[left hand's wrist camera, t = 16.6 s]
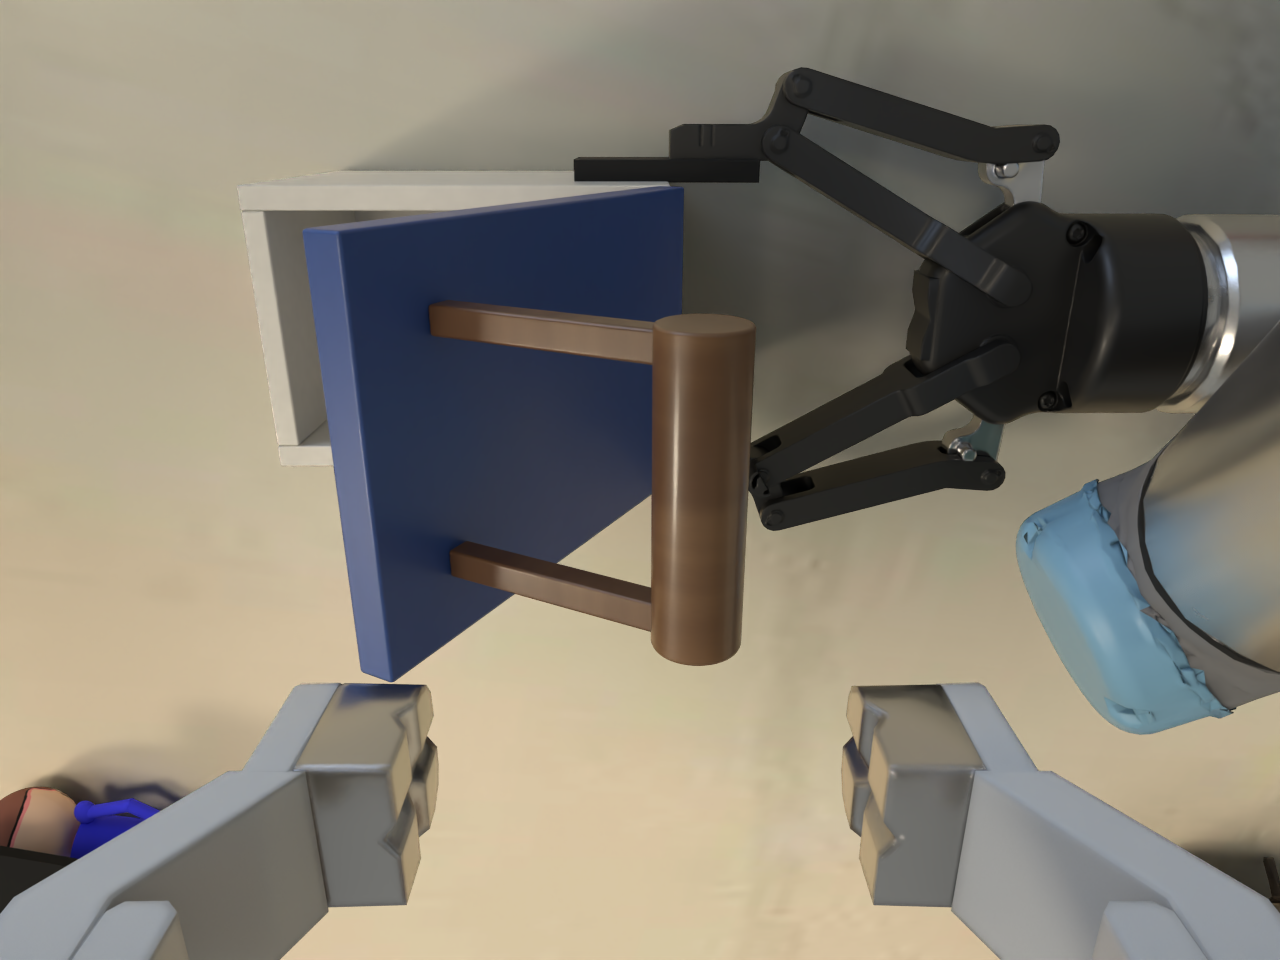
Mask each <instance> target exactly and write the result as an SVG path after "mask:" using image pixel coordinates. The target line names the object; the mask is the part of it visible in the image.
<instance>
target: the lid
mask: <svg viewBox="0 0 1280 960" xmlns="http://www.w3.org/2000/svg"><path fill="white" fill-rule="evenodd" d="M683 216H684V188H683V187H671V186H655V187H647V188H638V189H630V190H621V191H613V192H605V193H596V194H588V195H579V196H571V197H563V198H554V199H546V200H537V201H529V202H521V203H512V204H504V205H495V206H487V207H479V208H470V209H462V210H453V211H445V212H437V213H428V214H420V215H411V216H403V217H395V218H386V219H378V220H369V221H361V222H353V223H344V224H336V225H327V226H319V227H311V228H306V229H304V230H303V232H302V234H303V242H304V249H305V257H306V264H307V271H308V279H309V286H310V294H311V301H312V309H313V316H314V324H315V331H316V339H317V346H318V353H319V361H320V368H321V376H322V383H323V391H324V398H325V406H326V413H327V421H328V428H329V436H330V443H331V450H332V458H333V465H334V473H335V480H336V488H337V495H338V503H339V510H340V518H341V525H342V532H343V540H344V547H345V555H346V562H347V570H348V577H349V585H350V592H351V600H352V607H353V615H354V622H355V629H356V637H357V644H358V652H359V659H360V667H361V671H362V672H363V673H366V674H369V675H372V676H375V677H377V678H380V679H383V680H386V681H388V682H394V681H396V680H397V679H399V678H400V677H401V676H403V675H404V674H405V673H407V672H408V671H410V670H411V669H412V668H414V667H415V666H416V665H418V664H419V663H421V662H422V661H423V660H425V659H426V658H427V657H429V656H430V655H432V654H433V653H434V652H436V651H437V650H438V649H440V648H441V647H443V646H444V645H445V644H447V643H448V642H449V641H451V640H452V639H454V638H455V637H456V636H458V635H459V634H460V633H462V632H463V631H465V630H466V629H467V628H469V627H470V626H471V625H473V624H474V623H476V622H477V621H478V620H480V619H481V618H482V617H484V616H485V615H486V614H488V613H489V612H491V611H492V610H493V609H495V608H496V607H497V606H499V605H500V604H502V603H503V602H504V601H506V600H507V599H508V598H510V597H511V596H513V595H514V594H518V595H521V596H525V597H528V598H532V599H536V600H539V601H543V602H546V603H550V604H553V605H557V606H561V607H564V608H568V609H571V610H575V611H578V612H582V613H586V614H589V615H593V616H596V617H600V618H604V619H607V620H611V621H614V622H618V623H621V624H625V625H629V626H632V627H636V628H639V629H643V630H646V631H650V632H651V642H652V645H653V647H654V649H655V650H656V651H657V652H658V653H659V654H660V655H661V656H663V657H664V658H666V659H668V660H670V661H673V662H676V663H680V664H684V665H692V666H705V665H712V664H717V663H720V662H723V661H725V660H728V659H729V658H731V657H732V656H734V655H735V654H736V653H737V651H738V649H739V648H740V645H741V632H742V611H743V590H744V569H745V548H746V528H747V507H748V486H749V465H750V444H751V423H752V402H753V382H754V361H755V340H756V327H755V324H754V323H753V322H752V321H749V320H747V319H744V318H741V317H736V316H730V315H722V314H682V274H683ZM651 494H652V536H651V588H650V587H646V586H642V585H638V584H635V583H631V582H627V581H623V580H619V579H615V578H611V577H607V576H603V575H599V574H595V573H591V572H588V571H584V570H580V569H576V568H572V567H568V566H564V565H560V564H557V563H558V562H559V561H561V560H562V559H563V558H565V557H566V556H568V555H569V554H570V553H572V552H573V551H574V550H576V549H577V548H579V547H580V546H581V545H583V544H584V543H585V542H587V541H588V540H590V539H591V538H592V537H594V536H595V535H596V534H598V533H599V532H601V531H602V530H603V529H605V528H606V527H607V526H609V525H610V524H612V523H613V522H614V521H616V520H617V519H618V518H620V517H621V516H623V515H624V514H625V513H627V512H628V511H629V510H631V509H632V508H634V507H635V506H636V505H638V504H639V503H640V502H642V501H643V500H645V499H646V498H647V497H649V496H650V495H651Z"/></svg>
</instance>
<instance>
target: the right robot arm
mask: <svg viewBox="0 0 1280 960" xmlns="http://www.w3.org/2000/svg"><path fill="white" fill-rule="evenodd" d="M807 114H811V115H814V116H817V117H821V118H824V119H827V120H830V121H833V122H836V123H840V124H843V125H846V126H849V127H852V128H855V129H859V130H862V131H865V132H868V133H871V134H874V135H878V136H881V137H884V138H887V139H890V140H893V141H897V142H900V143H903V144H906V145H909V146H912V147H915V148H919V149H922V150H925V151H928V152H931V153H934V154H938V155H941V156H944V157H947V158H951V159H955V160H961V161H969V162H978V174H979V177H980V179H981V180H982V181H983V182H985V183H986V184H990V185H995V186H997V187H999V188H1000V189H1001V190H1002V192H1003V194H1004V198H1005V203H1003V204H1001V205H999V206H998V207H996V208H995V209H994V210H992V211H991V212H989V213H988V214H986V215H985V216H983V217H982V218H980V219H979V220H977V221H976V222H974V223H973V224H971V225H970V226H969V227H967V228H966V229H964V230H963V231H961V232H960V233H957V232H956V231H954V230H953V229H951V228H949V227H948V226H946V225H944V224H943V223H941V222H939V221H937V220H935V219H933V218H932V217H930V216H928V215H927V214H925V213H924V212H922V211H921V210H919V209H917V208H916V207H914V206H913V205H911V204H910V203H908V202H906V201H905V200H903V199H902V198H900V197H899V196H897V195H895V194H894V193H892V192H891V191H889V190H888V189H886V188H884V187H883V186H881V185H880V184H878V183H876V182H875V181H873V180H872V179H870V178H869V177H867V176H865V175H864V174H862V173H861V172H859V171H858V170H856V169H854V168H853V167H851V166H850V165H848V164H847V163H845V162H843V161H842V160H840V159H839V158H837V157H836V156H834V155H832V154H831V153H829V152H828V151H826V150H825V149H823V148H821V147H820V146H818V145H817V144H815V143H814V142H812V141H810V140H809V139H807V138H806V137H804V136H803V135H801V134H800V131H801V129H802V126H803V124H804V121H805V119H806V116H807ZM1059 143H1060V138H1059V134H1058V132H1057V130H1056V129H1055V128H1054V127H1052V126H1050V125H1007V126H993V127H990V126H987V125H984V124H981V123H977V122H974V121H971V120H968V119H965V118H962V117H959V116H956V115H953V114H949V113H946V112H943V111H940V110H937V109H934V108H931V107H928V106H925V105H921V104H918V103H915V102H912V101H909V100H906V99H903V98H900V97H897V96H893V95H890V94H887V93H884V92H881V91H878V90H875V89H872V88H869V87H865V86H862V85H859V84H856V83H853V82H850V81H847V80H844V79H841V78H837V77H834V76H831V75H828V74H825V73H822V72H819V71H816V70H813V69H809V68H802V67H801V68H798V69H794V70H792V71H789V72H787V73H785V74H783V75H782V76H781V77H780V78H779V79H778V81H777V83H776V87H775V92H774V95H773V97H772V100H771V102H770V105H769V107H768V110H767V112H766V114H765V115H764V116H763V117H762V118H761V119H760V120H759V121H757V122H755V123H752V124H682V125H680V126H678V127H675V128H673V129H671V130H669V157H578V158H576V159H574V181H648V182H721V183H759V172H760V161H769V162H771V163H773V164H774V165H776V166H777V167H779V168H781V169H782V170H784V171H785V172H787V173H789V174H790V175H792V176H793V177H795V178H797V179H798V180H800V181H801V182H803V183H805V184H806V185H808V186H809V187H811V188H813V189H814V190H816V191H817V192H819V193H821V194H822V195H824V196H825V197H827V198H829V199H830V200H832V201H834V202H835V203H837V204H838V205H840V206H842V207H843V208H845V209H846V210H848V211H850V212H851V213H853V214H854V215H856V216H858V217H859V218H861V219H862V220H864V221H866V222H867V223H869V224H870V225H872V226H874V227H875V228H877V229H878V230H880V231H882V232H883V233H885V234H886V235H888V236H890V237H891V238H893V239H894V240H896V241H897V242H899V243H900V244H902V245H903V246H905V247H906V248H908V249H910V250H911V251H913V252H914V253H916V254H918V255H919V256H921V257H922V258H924V259H925V260H924V262H923V263H922V265H921V267H920V269H919V270H914V279H913V288H912V291H913V298H914V304H915V312H914V315H913V318H912V320H911V323H910V326H909V328H908V333H907V342H906V349H907V350H908V351H909V352H910V355H909V356H907V357H905V358H903V359H901V360H899V361H897V362H895V363H894V364H892V365H890V366H889V367H887V368H886V369H885V371H884V372H883V373H882V374H881V375H879V376H878V377H876V378H874V379H872V380H870V381H868V382H866V383H864V384H862V385H861V386H859V387H857V388H855V389H853V390H851V391H849V392H847V393H845V394H843V395H841V396H840V397H838V398H836V399H834V400H832V401H830V402H828V403H826V404H824V405H822V406H821V407H819V408H817V409H815V410H813V411H811V412H809V413H807V414H805V415H803V416H801V417H800V418H798V419H796V420H794V421H792V422H790V423H788V424H786V425H784V426H782V427H780V428H779V429H777V430H775V431H773V432H771V433H769V434H767V435H765V436H763V437H761V438H759V439H758V440H756V441H754V442H752V443H751V444H750V465H749V486H748V490H749V492H750V493H751V494H752V496H753V498H754V501H755V504H756V507H757V510H758V513H759V516H760V519H761V522H762V524H763V526H764V527H766V528H767V529H769V530H772V531H776V530H782V529H786V528H790V527H794V526H798V525H802V524H806V523H810V522H814V521H817V520H821V519H825V518H829V517H833V516H837V515H841V514H845V513H849V512H853V511H857V510H861V509H865V508H869V507H873V506H876V505H880V504H884V503H888V502H892V501H896V500H900V499H904V498H908V497H912V496H916V495H920V494H924V493H928V492H932V491H935V490H939V489H943V488H956V489H971V490H986V491H988V490H994V489H996V488H998V487H999V486H1000V485H1001V484H1002V483H1003V482H1004V479H1005V470H1004V468H1003V467H1002V466H1001V465H1000V464H999V463H998V462H997V459H998V454H999V450H1000V446H1001V441H1002V437H1003V433H1004V428H1005V424H1006V423H1010V422H1012V421H1014V420H1016V419H1018V418H1020V417H1022V416H1025V415H1028V414H1031V413H1036V412H1053V413H1143V412H1147V411H1150V410H1153V409H1157V410H1158V411H1160V412H1166V413H1196V414H1195V415H1194V416H1193V417H1192V419H1191V420H1190V421H1189V422H1188V423H1187V424H1186V425H1185V426H1184V427H1183V429H1182V430H1181V431H1180V432H1179V433H1178V434H1177V435H1176V436H1175V437H1174V438H1173V439H1172V440H1171V441H1170V442H1169V443H1168V444H1167V445H1165V446H1164V447H1163V448H1162V449H1161V450H1160V451H1159V452H1158V453H1157V454H1156V455H1155V457H1154V458H1153V459H1152V460H1150V461H1148V462H1147V463H1145V464H1143V465H1141V466H1139V467H1137V468H1135V469H1133V470H1130V471H1128V472H1125V473H1123V474H1120V475H1117V476H1115V477H1112V478H1110V479H1107V480H1105V481H1102V482H1099V483H1098V481H1099V480H1098V479H1096V480H1094V481H1091V482H1089V483H1086V484H1085V485H1084V486H1083V488H1082V489H1081V491H1079V492H1077V493H1075V494H1073V495H1071V496H1069V497H1066V498H1064V499H1062V500H1060V501H1058V502H1056V503H1054V504H1052V505H1050V506H1048V507H1046V508H1044V509H1042V510H1040V511H1038V512H1036V513H1034V514H1032V515H1031V516H1030V517H1029V518H1027V519H1026V520H1025V521H1024V522H1023V524H1022V525H1021V527H1020V529H1019V531H1018V534H1017V539H1016V554H1017V560H1018V565H1019V568H1020V572H1021V575H1022V578H1023V581H1024V584H1025V586H1026V589H1027V591H1028V594H1029V596H1030V599H1031V601H1032V603H1033V606H1034V608H1035V610H1036V613H1037V615H1038V617H1039V619H1040V621H1041V623H1042V625H1043V627H1044V629H1045V631H1046V633H1047V635H1048V637H1049V639H1050V641H1051V643H1052V644H1053V646H1054V648H1055V650H1056V652H1057V654H1058V655H1059V657H1060V659H1061V661H1062V662H1063V664H1064V666H1065V667H1066V669H1067V671H1068V672H1069V674H1070V675H1071V677H1072V679H1073V680H1074V682H1075V683H1076V684H1077V686H1078V687H1079V689H1080V690H1081V692H1082V693H1083V695H1084V696H1085V697H1086V699H1087V700H1088V701H1089V702H1090V704H1091V705H1092V706H1093V707H1094V708H1095V710H1096V711H1097V712H1098V713H1099V714H1100V715H1101V716H1102V717H1103V718H1105V719H1106V720H1107V721H1108V722H1109V723H1111V724H1112V725H1114V726H1116V727H1117V728H1119V729H1121V730H1123V731H1126V732H1129V733H1134V734H1139V735H1141V734H1153V733H1157V732H1160V731H1163V730H1166V729H1169V728H1173V727H1176V726H1179V725H1182V724H1185V723H1188V722H1191V721H1195V720H1198V719H1201V718H1205V717H1208V716H1212V717H1217V718H1222V717H1225V716H1227V715H1230V714H1232V713H1234V712H1231V710H1234V709H1236V707H1238V706H1240V705H1243V704H1245V703H1248V702H1251V701H1253V700H1256V699H1259V698H1262V697H1265V696H1268V695H1271V694H1274V693H1277V692H1280V215H1259V214H1188V215H1183V216H1180V217H1178V218H1173V217H1171V216H1169V215H1165V214H1063V213H1058V212H1056V211H1054V210H1052V209H1050V208H1049V207H1047V206H1046V205H1044V204H1042V203H1041V196H1042V185H1043V174H1044V163H1045V160H1048V159H1049V158H1050V157H1052V156H1053V155H1054V154H1055V152H1056V151H1057V149H1058V147H1059ZM954 399H955V400H956V401H957V402H959V403H960V404H961V405H963V406H964V407H965V408H966V409H968V410H969V411H970V412H972V413H973V414H974V415H973V418H972V420H971V421H970V423H969V424H967V425H966V426H965V427H962V428H958V429H953V430H950V431H947V432H946V433H945V435H944V437H943V439H942V441H926V442H920V443H915V444H910V445H907V446H903V447H899V448H895V449H891V450H887V451H883V452H880V453H876V454H872V455H868V456H864V457H860V458H857V459H853V460H849V461H845V462H841V463H837V464H834V465H830V466H826V467H822V468H818V469H814V470H811V471H807V472H803V473H800V472H802V471H804V470H806V469H808V468H810V467H812V466H814V465H816V464H818V463H820V462H822V461H824V460H825V459H827V458H829V457H831V456H833V455H835V454H837V453H839V452H841V451H843V450H845V449H847V448H849V447H851V446H853V445H855V444H857V443H859V442H861V441H863V440H865V439H867V438H868V437H870V436H872V435H874V434H876V433H878V432H880V431H882V430H884V429H886V428H888V427H890V426H892V425H894V424H896V423H898V422H900V421H902V420H904V419H906V418H908V417H911V416H921V415H924V414H926V413H929V412H931V411H933V410H935V409H936V408H938V407H940V406H942V405H944V404H946V403H948V402H950V401H952V400H954ZM798 473H799V474H798Z"/></svg>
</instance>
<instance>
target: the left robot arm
mask: <svg viewBox="0 0 1280 960" xmlns="http://www.w3.org/2000/svg"><path fill="white" fill-rule="evenodd" d="M433 716H434V714H433V706H432V699H431V692H430V690H429V688H428V687H427V685H409V684H361V683H344V684H341V683H302V684H300V685H297V686H295V687H294V688H293V689H292V691H291V692H290V694H289V695H288V697H287V699H286V700H285V702H284V704H283V705H282V707H281V708H280V710H279V712H278V713H277V715H276V716H275V718H274V720H273V721H272V723H271V724H270V726H269V728H268V729H267V731H266V732H265V734H264V736H263V737H262V739H261V740H260V742H259V744H258V745H257V747H256V748H255V750H254V752H253V753H252V755H251V756H250V758H249V760H248V761H247V763H246V764H245V766H244V768H243V769H242V771H228V772H226V773H224V774H223V775H221V776H219V777H218V778H216V779H214V780H212V781H211V782H209V783H207V784H206V785H204V786H202V787H201V788H199V789H197V790H195V791H194V792H192V793H190V794H189V795H187V796H185V797H184V798H182V799H180V800H178V801H177V802H175V803H173V804H172V805H170V806H168V807H166V808H165V809H163V810H161V811H160V812H158V813H156V814H155V815H153V816H151V817H149V818H148V819H146V820H144V821H143V822H141V823H139V824H138V825H136V826H134V827H132V828H131V829H129V830H127V831H126V832H124V833H122V834H120V835H119V836H117V837H115V838H114V839H112V840H110V841H109V842H107V843H105V844H103V845H102V846H100V847H98V848H97V849H95V850H93V851H92V852H90V853H88V854H86V855H85V856H83V857H81V858H80V859H78V860H76V861H75V862H73V863H71V864H69V865H68V866H66V867H64V868H63V869H61V870H59V871H57V872H56V873H54V874H52V875H51V876H49V877H47V878H46V879H44V880H42V881H40V882H39V883H37V884H35V885H34V886H32V887H30V888H29V889H27V890H25V891H23V892H22V893H20V894H18V895H17V896H15V897H14V898H13V899H12V900H11V901H10V902H9V904H8V905H7V906H6V907H5V909H4V910H3V911H2V912H1V913H0V960H280V959H281V958H282V957H283V956H284V955H285V954H286V953H287V952H288V951H289V950H290V949H291V948H292V947H293V946H294V945H295V944H296V943H297V942H298V941H299V940H300V939H301V938H302V937H303V936H304V935H305V934H306V933H307V932H308V931H309V930H310V929H311V928H312V927H313V926H314V925H315V924H316V923H318V922H319V921H320V920H321V919H322V918H323V917H324V916H325V915H326V914H327V913H328V907H353V906H388V905H407V902H408V899H409V895H410V892H411V889H412V886H413V882H414V879H415V876H416V873H417V869H418V866H419V863H420V860H421V854H420V844H419V837H420V836H421V835H422V834H424V833H425V832H426V831H427V830H428V829H430V826H431V822H432V819H433V815H434V812H435V807H436V799H437V791H438V767H439V764H438V753H437V746H436V745H435V744H434V743H433V742H432V741H431V740H430V739H429V738H428V737H427V734H428V731H429V728H430V725H431V722H432V719H433ZM846 716H847V719H848V722H849V725H850V728H851V731H852V734H853V737H852V738H851V739H850V740H849V741H848V742H847V743H846V744H845V745H844V746H843V754H842V768H841V774H842V795H843V801H844V806H845V812H846V815H847V819H848V822H849V826H850V829H852V830H853V831H854V832H855V833H856V834H858V835H859V836H860V837H861V844H860V854H859V860H860V863H861V866H862V869H863V873H864V876H865V879H866V882H867V885H868V889H869V892H870V895H871V898H872V902H873V905H890V906H926V907H952V909H951V911H952V912H953V913H954V914H955V915H956V916H957V917H958V918H959V919H960V920H961V921H962V922H963V923H964V924H965V925H966V926H967V927H968V928H969V929H970V930H971V931H972V932H973V933H974V934H975V935H976V936H977V937H978V938H979V939H980V940H981V941H982V942H983V943H984V944H985V945H986V946H987V947H988V948H989V949H990V950H991V951H992V952H993V953H994V954H995V955H996V956H997V957H998V958H999V959H1001V960H1280V913H1279V912H1278V910H1277V909H1276V908H1275V907H1274V906H1273V904H1272V903H1271V902H1270V901H1269V899H1268V898H1266V897H1264V896H1263V895H1261V894H1259V893H1258V892H1256V891H1254V890H1252V889H1251V888H1249V887H1247V886H1246V885H1244V884H1242V883H1241V882H1239V881H1237V880H1236V879H1234V878H1232V877H1230V876H1229V875H1227V874H1225V873H1224V872H1222V871H1220V870H1219V869H1217V868H1215V867H1213V866H1212V865H1210V864H1208V863H1207V862H1205V861H1203V860H1202V859H1200V858H1198V857H1196V856H1195V855H1193V854H1191V853H1190V852H1188V851H1186V850H1185V849H1183V848H1181V847H1180V846H1178V845H1176V844H1174V843H1173V842H1171V841H1169V840H1168V839H1166V838H1164V837H1163V836H1161V835H1159V834H1157V833H1156V832H1154V831H1152V830H1151V829H1149V828H1147V827H1146V826H1144V825H1142V824H1140V823H1139V822H1137V821H1135V820H1134V819H1132V818H1130V817H1129V816H1127V815H1125V814H1124V813H1122V812H1120V811H1118V810H1117V809H1115V808H1113V807H1112V806H1110V805H1108V804H1107V803H1105V802H1103V801H1101V800H1100V799H1098V798H1096V797H1095V796H1093V795H1091V794H1090V793H1088V792H1086V791H1084V790H1083V789H1081V788H1079V787H1078V786H1076V785H1074V784H1073V783H1071V782H1069V781H1067V780H1066V779H1064V778H1062V777H1061V776H1059V775H1057V774H1056V773H1054V772H1052V771H1038V769H1037V768H1036V766H1035V765H1034V763H1033V761H1032V760H1031V758H1030V757H1029V755H1028V754H1027V752H1026V750H1025V749H1024V747H1023V746H1022V744H1021V742H1020V741H1019V739H1018V738H1017V736H1016V734H1015V733H1014V731H1013V730H1012V728H1011V727H1010V725H1009V723H1008V722H1007V720H1006V719H1005V717H1004V715H1003V714H1002V712H1001V711H1000V709H999V708H998V706H997V704H996V703H995V701H994V700H993V698H992V696H991V695H990V693H989V692H988V690H987V689H986V687H985V686H983V685H982V684H980V683H978V682H975V683H945V684H936V685H883V686H852V687H851V690H850V693H849V697H848V704H847V713H846Z"/></svg>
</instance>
